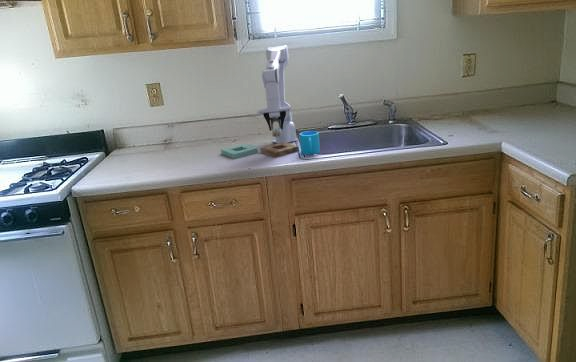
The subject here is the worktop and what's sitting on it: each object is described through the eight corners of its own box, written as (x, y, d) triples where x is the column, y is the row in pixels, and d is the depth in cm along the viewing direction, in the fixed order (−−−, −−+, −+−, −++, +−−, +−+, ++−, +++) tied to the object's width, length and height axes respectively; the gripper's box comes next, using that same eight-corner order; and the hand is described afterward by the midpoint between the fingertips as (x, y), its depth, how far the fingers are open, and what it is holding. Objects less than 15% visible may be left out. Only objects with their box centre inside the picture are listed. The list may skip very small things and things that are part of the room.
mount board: (283, 146, 206) (282, 142, 206) (298, 150, 197) (298, 146, 196) (261, 152, 200) (260, 147, 199) (276, 157, 190) (275, 152, 190)
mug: (301, 150, 198) (299, 131, 195) (319, 148, 197) (318, 130, 195) (301, 157, 186) (299, 138, 184) (320, 156, 186) (319, 137, 183)
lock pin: (278, 133, 199) (276, 115, 196) (284, 135, 195) (282, 117, 193) (269, 135, 197) (267, 117, 194) (275, 137, 193) (273, 119, 190)
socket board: (244, 148, 210) (244, 143, 209) (258, 152, 200) (257, 148, 199) (221, 153, 203) (221, 149, 203) (234, 158, 194) (233, 154, 193)
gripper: (256, 101, 186) (259, 133, 191) (290, 97, 187) (293, 129, 192) (255, 98, 193) (259, 129, 198) (289, 95, 194) (291, 126, 199)
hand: (276, 129), depth 195 cm, fingers closed on lock pin, 4 cm apart
